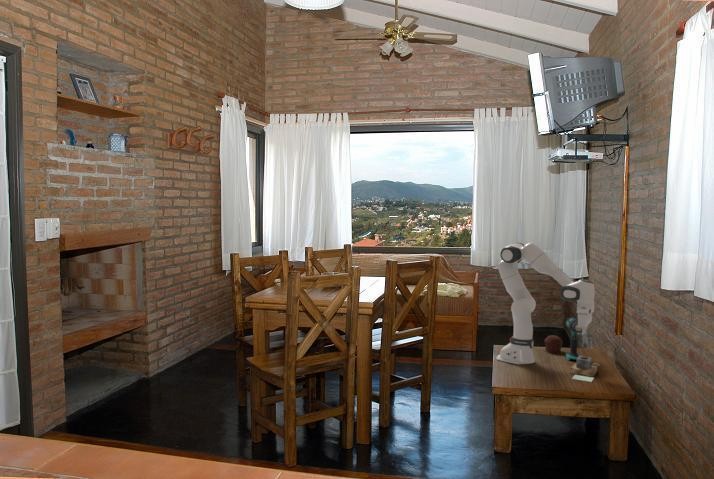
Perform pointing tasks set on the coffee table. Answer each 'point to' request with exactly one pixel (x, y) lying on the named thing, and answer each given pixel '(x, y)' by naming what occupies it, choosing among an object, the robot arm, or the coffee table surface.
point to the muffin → (553, 344)
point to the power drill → (573, 338)
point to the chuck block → (584, 366)
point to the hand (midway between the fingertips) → (585, 332)
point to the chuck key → (585, 338)
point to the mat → (583, 378)
